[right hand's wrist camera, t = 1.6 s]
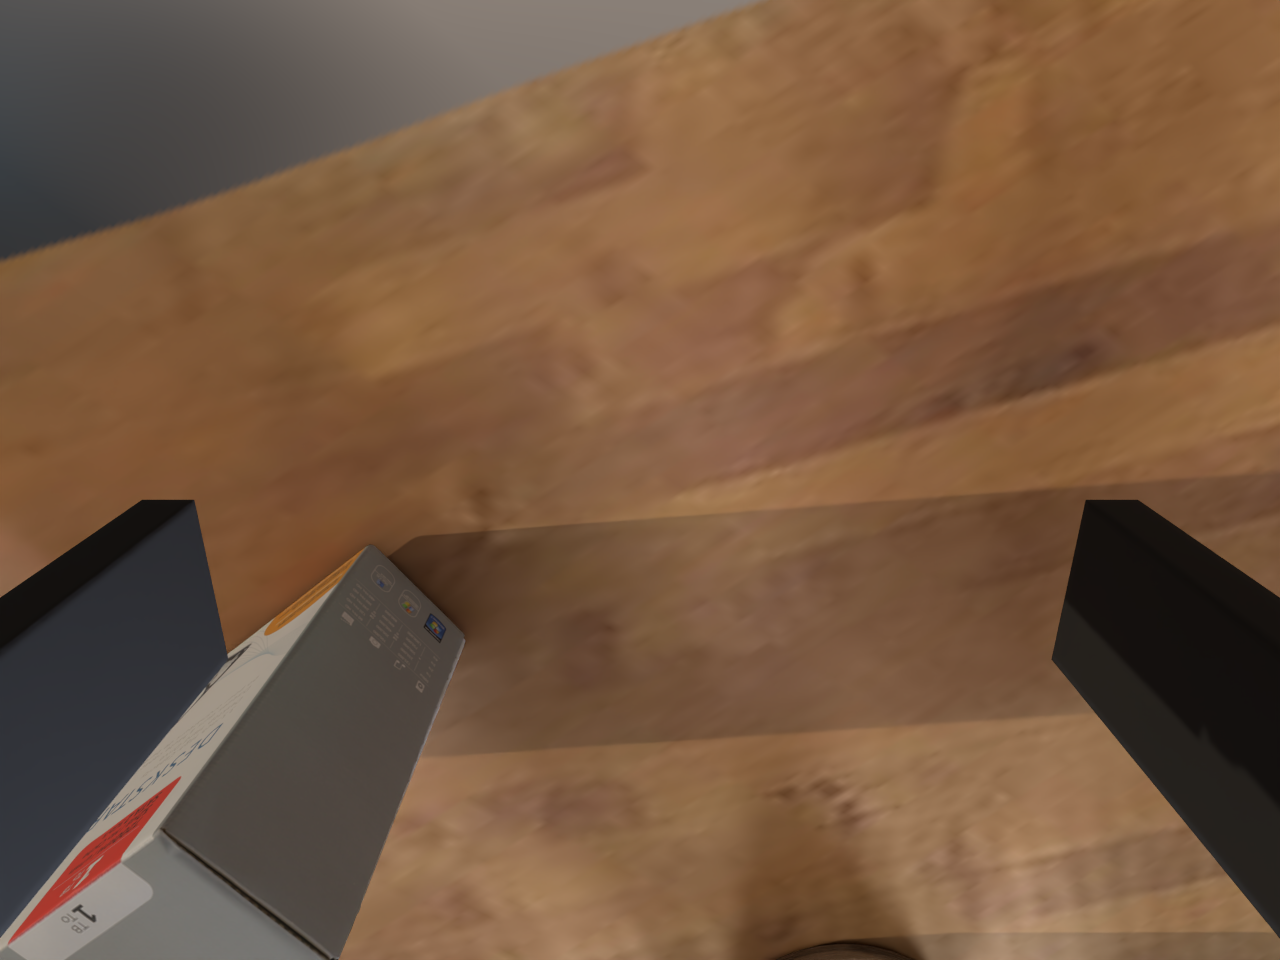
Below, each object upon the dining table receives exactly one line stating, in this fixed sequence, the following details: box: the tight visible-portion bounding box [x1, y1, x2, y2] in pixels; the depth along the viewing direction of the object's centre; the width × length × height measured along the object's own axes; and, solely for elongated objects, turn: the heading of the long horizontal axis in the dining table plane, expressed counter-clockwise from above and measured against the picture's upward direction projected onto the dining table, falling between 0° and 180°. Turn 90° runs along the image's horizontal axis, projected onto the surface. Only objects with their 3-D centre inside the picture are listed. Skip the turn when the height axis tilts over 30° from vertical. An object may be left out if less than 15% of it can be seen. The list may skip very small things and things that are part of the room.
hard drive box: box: [0, 545, 465, 960], centre depth 36 cm, size 16×8×20 cm, turn 128°
